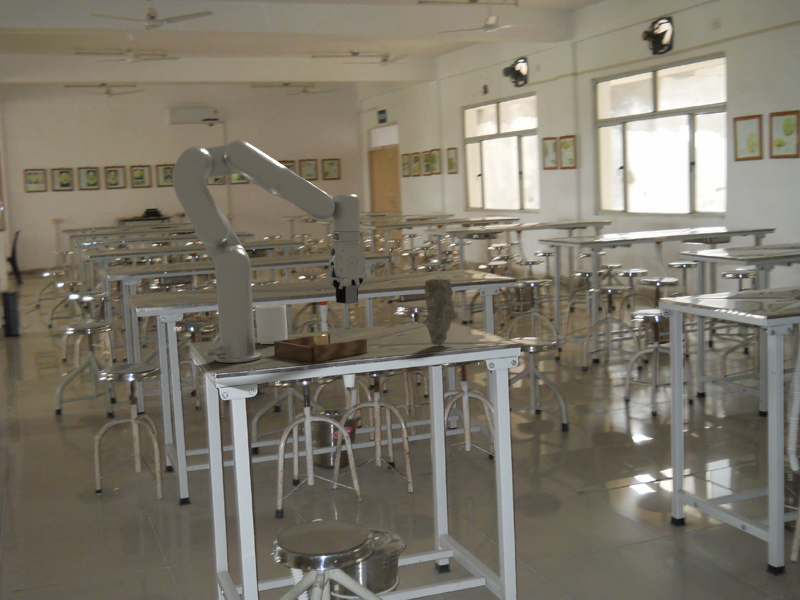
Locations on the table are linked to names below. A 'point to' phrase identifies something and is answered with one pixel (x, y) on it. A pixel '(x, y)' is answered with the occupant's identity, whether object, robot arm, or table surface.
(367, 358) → the table surface
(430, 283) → the stone tool
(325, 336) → the brass part
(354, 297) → the steel block
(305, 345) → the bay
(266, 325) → the white box
